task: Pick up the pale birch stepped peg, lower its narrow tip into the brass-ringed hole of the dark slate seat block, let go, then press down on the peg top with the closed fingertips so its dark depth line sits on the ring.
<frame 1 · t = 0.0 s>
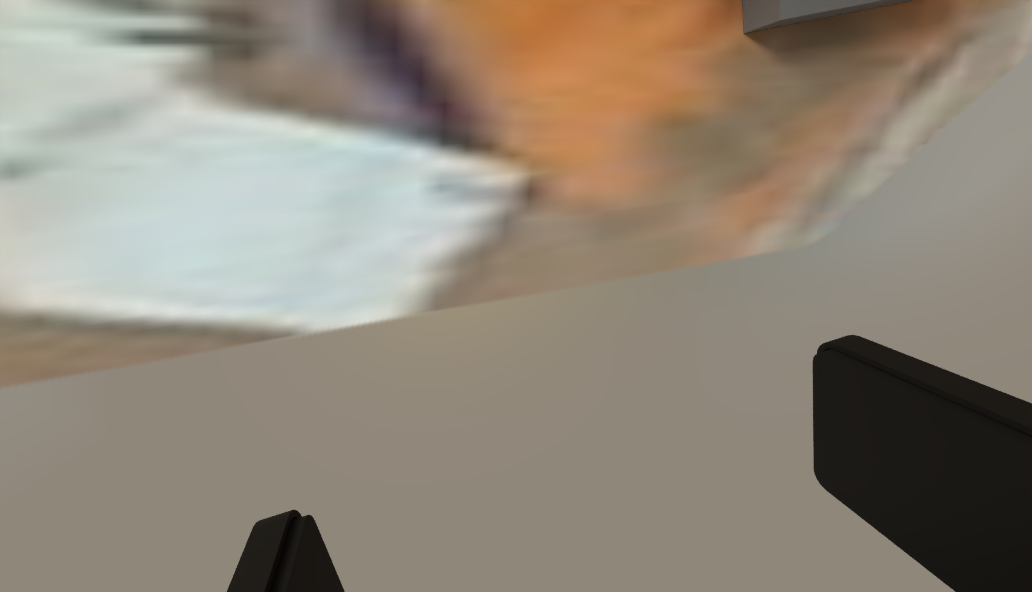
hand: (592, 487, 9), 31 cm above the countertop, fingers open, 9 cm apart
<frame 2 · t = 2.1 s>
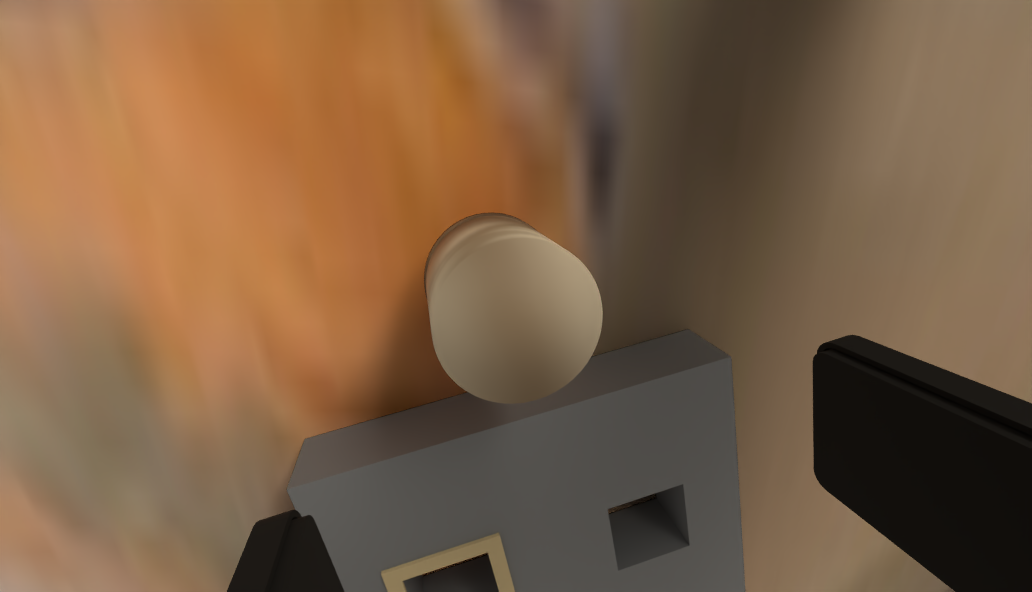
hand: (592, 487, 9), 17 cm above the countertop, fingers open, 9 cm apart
peg: (479, 260, 24), on the countertop
seat block: (537, 508, 30), on the countertop
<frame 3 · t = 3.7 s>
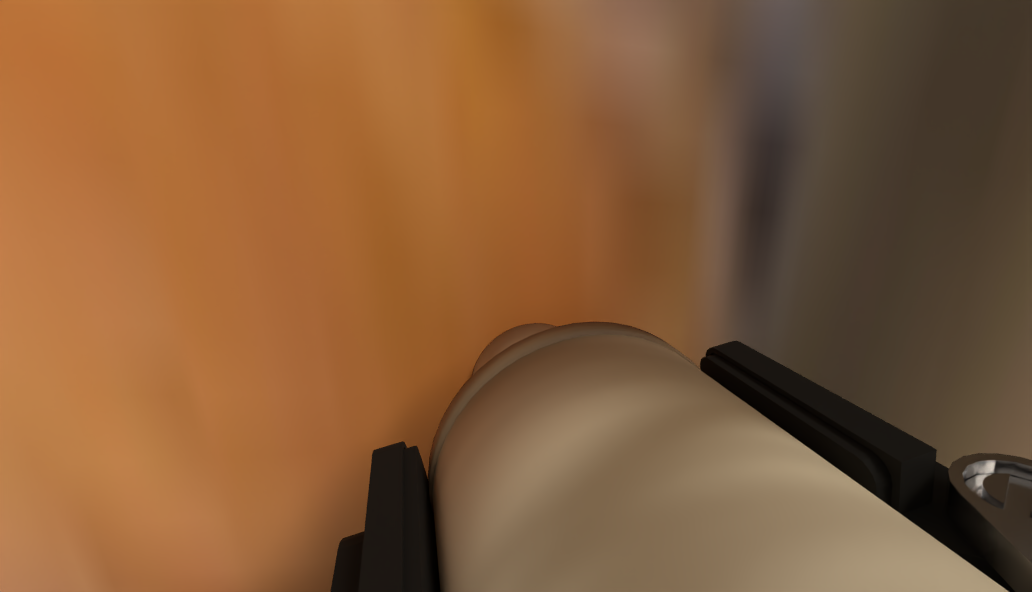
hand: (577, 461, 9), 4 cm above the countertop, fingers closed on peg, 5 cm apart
peg: (531, 381, 13), on the countertop, touching gripper
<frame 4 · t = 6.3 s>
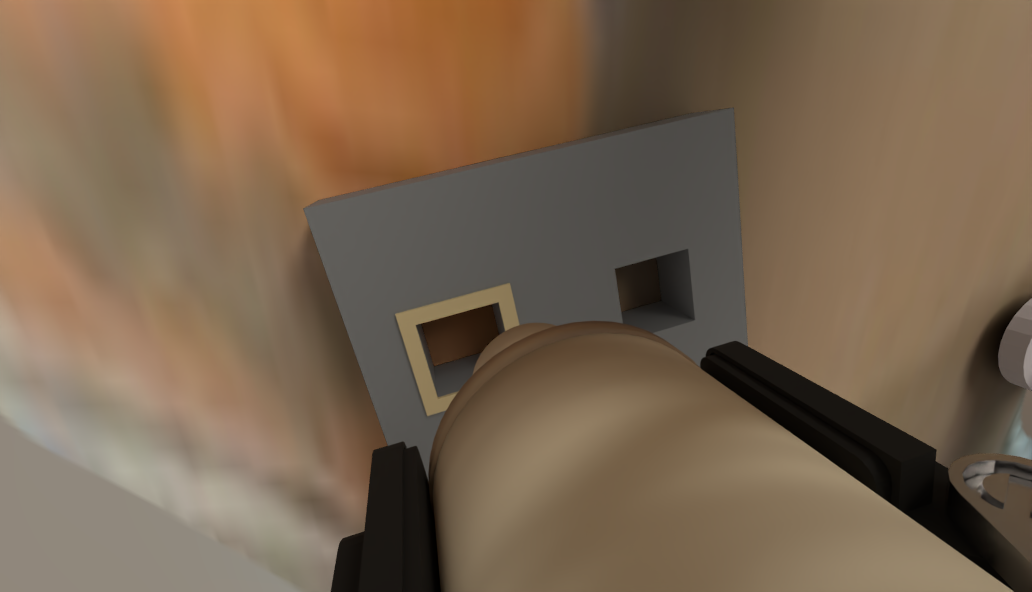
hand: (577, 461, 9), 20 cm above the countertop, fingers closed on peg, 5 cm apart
peg: (532, 380, 13), point 17 cm above the countertop, touching gripper
seat block: (545, 300, 30), on the countertop
screw: (1018, 330, 40), on the countertop
when the fingers open (6 cm above the countertop, at t = 8.9 s): peg drops 2 cm, resting on seat block.
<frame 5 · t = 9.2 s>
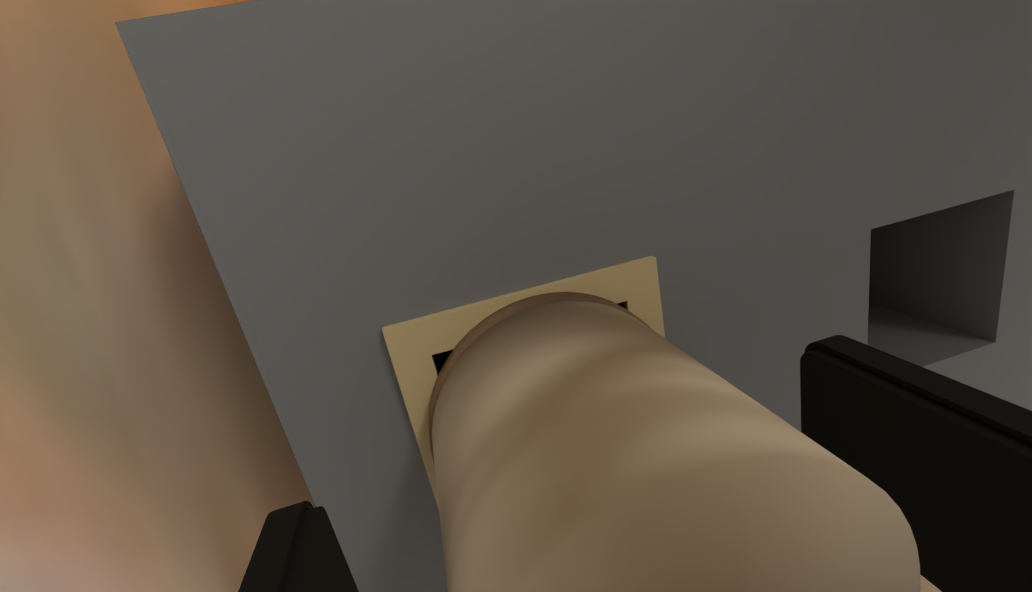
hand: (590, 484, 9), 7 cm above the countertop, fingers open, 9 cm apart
peg: (519, 352, 14), point 1 cm above the countertop, touching seat block
seat block: (672, 301, 16), on the countertop
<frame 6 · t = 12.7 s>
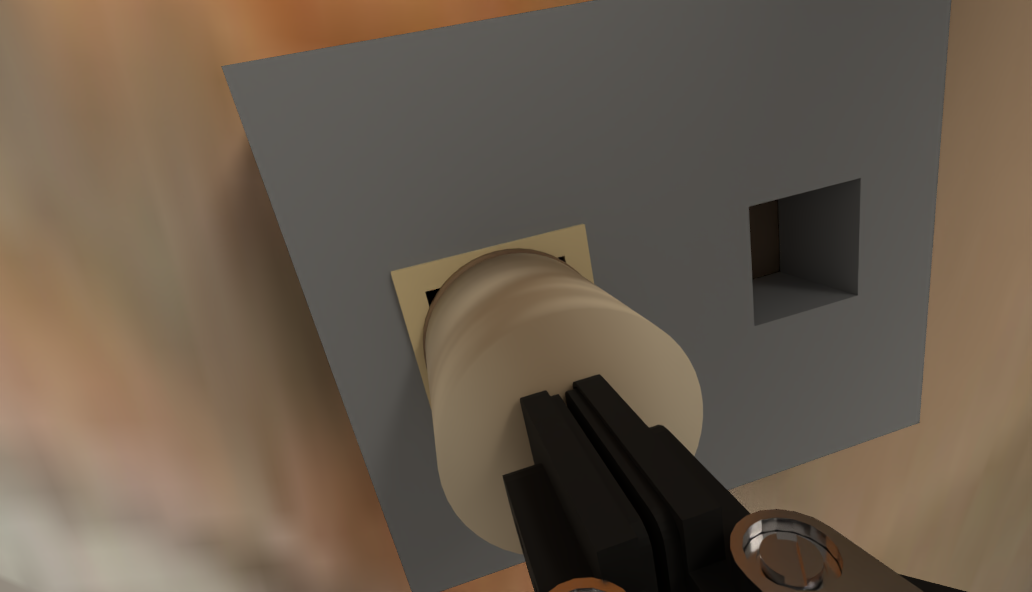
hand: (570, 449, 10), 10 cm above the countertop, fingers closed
peg: (494, 304, 19), point 1 cm above the countertop, touching gripper, seat block
seat block: (616, 267, 20), on the countertop
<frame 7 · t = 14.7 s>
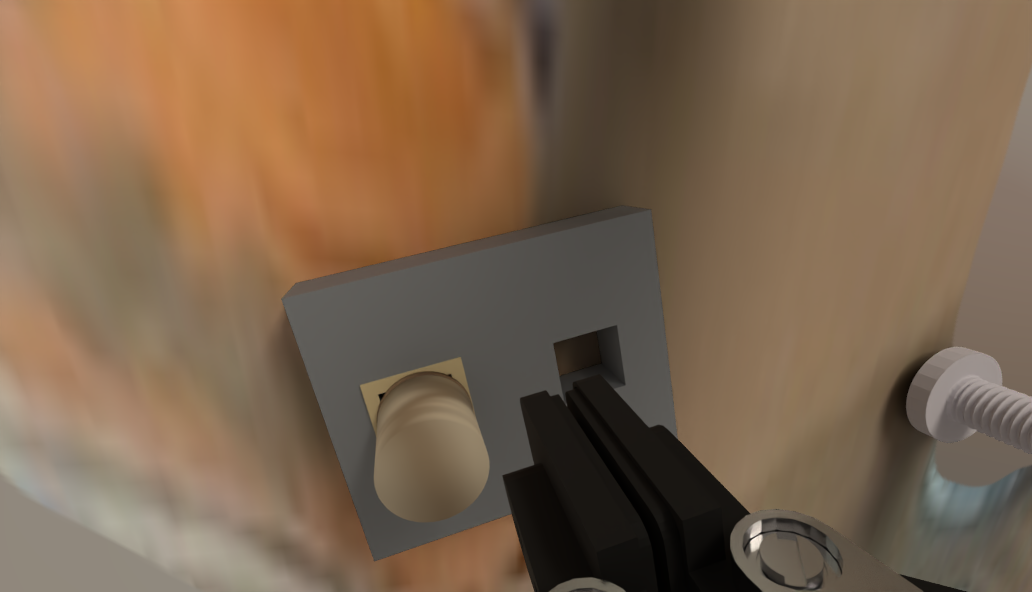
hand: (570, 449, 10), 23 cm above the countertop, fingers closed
peg: (422, 390, 33), point 1 cm above the countertop, touching seat block
seat block: (497, 365, 34), on the countertop
screw: (926, 383, 45), on the countertop
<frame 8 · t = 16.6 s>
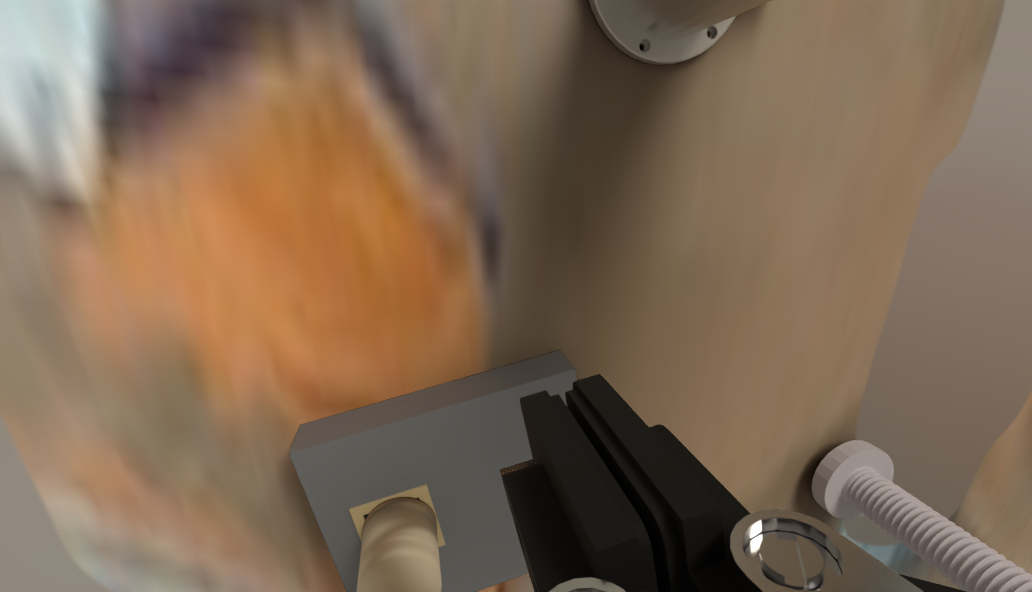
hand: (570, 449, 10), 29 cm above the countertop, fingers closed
peg: (400, 497, 42), point 1 cm above the countertop, touching seat block
seat block: (460, 474, 43), on the countertop
screw: (833, 466, 53), on the countertop
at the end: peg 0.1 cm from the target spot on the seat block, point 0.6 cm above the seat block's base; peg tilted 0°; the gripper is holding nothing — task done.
